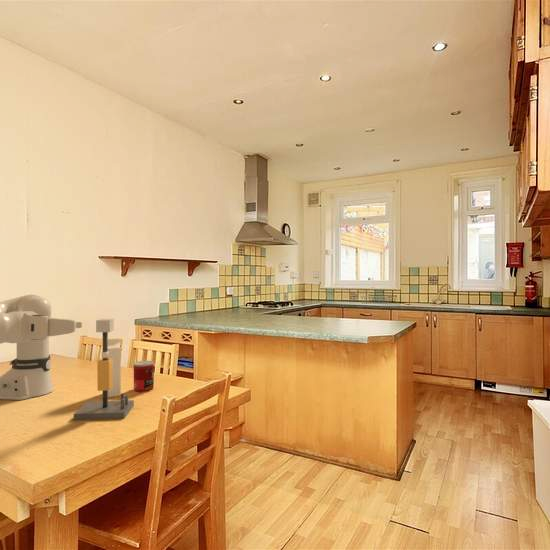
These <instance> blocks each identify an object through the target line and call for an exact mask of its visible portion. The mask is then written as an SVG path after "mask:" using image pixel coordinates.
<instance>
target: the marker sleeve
mask: <svg viewBox="0 0 550 550" xmlns="http://www.w3.org/2000/svg"><path fill="white" fill-rule="evenodd" d="M96 363H97V367H96V369H97V370H96V371H97V379H96V380H97V391H99V392H101V391H102V392H103V391H107V390H110V389H111V388H112V387H113V359H108V361H103V359H102V358H100V359H99V360H97V362H96Z"/></svg>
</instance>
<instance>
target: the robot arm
mask: <svg viewBox="0 0 550 550" xmlns="http://www.w3.org/2000/svg"><path fill="white" fill-rule="evenodd" d="M51 305H52V304H51V303H50V302H49V300H48V299H46V297H43V296H40V295H37V294H26V295H25V294H24V295H23V296H22V295H21V296H18V297H15V298H10V299H6V300H3V301H2V300H1V301H0V345H1V344H4V343H10V344H16V358H14V359H12V360H11V361H9V366H11V368H10V369H8V370H7V371H6V372H5V373H4V374H2V375H1V376H0V400H9V401H10V400H13V401H14V400H15V401H16V400H17V401H19V400H20V401H22V400H26V399H30V398H35V397H41V396H44V395H47V394H49V393H51V392H53V391H54V390H55V388H54V386H53V382H52V377H51V365H52V362H51V361H52V360H51V355H50V337H56V336H62V335H68V334H73V333H74V332H75V331H76V329H81V328H82V327H83V323H82V322H81V321H77V322H76V320H74V319H70V318H69V319H67V318H57V317H56V318H55V317H52V306H51Z"/></svg>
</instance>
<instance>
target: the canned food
mask: <svg viewBox="0 0 550 550" xmlns="http://www.w3.org/2000/svg"><path fill="white" fill-rule="evenodd" d="M154 363H155V362H154V361H152V360H139V361H136V362H134V363H133V389H134V391H135V392H137V393H144V392H145V391H147V392H149V391H150V390H151V391H153V390H154V386H155V379H154V378H155V372H154V371H155V370H154V369H155V368H154V367H155V366H154ZM145 393H146V392H145Z"/></svg>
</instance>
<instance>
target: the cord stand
mask: <svg viewBox="0 0 550 550" xmlns="http://www.w3.org/2000/svg"><path fill="white" fill-rule="evenodd" d="M114 320H115V319H114V318H99V319H96V320H95V330H96V331H95V332H96V333H102V346H103V351H101V359H102V358H103V361H108V357H109V356H108V339H109V337H108V336H109V334H108V333H111V332H113V331H114V330H115V326H114V323H115V321H114ZM108 399H109V397H108V390H107V391H102V400H101V401H87V402H86V403H84V404H83V405H82V406H81V407H80V408H79V409H77V411H76V412H74V413H73V421H83V420H85V421H87V420H86V419H93V420H113V419H114V420H115V419H116V420H117V418H120V419H125V418H126V417H127V416H128V414H129V413H130V412H131V410H132V409H133V407H134V405H135V403H134V402H135V401H134V400H130V399H129V394H127V395H125V393H123V392H121V395H120V400H108Z"/></svg>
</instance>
